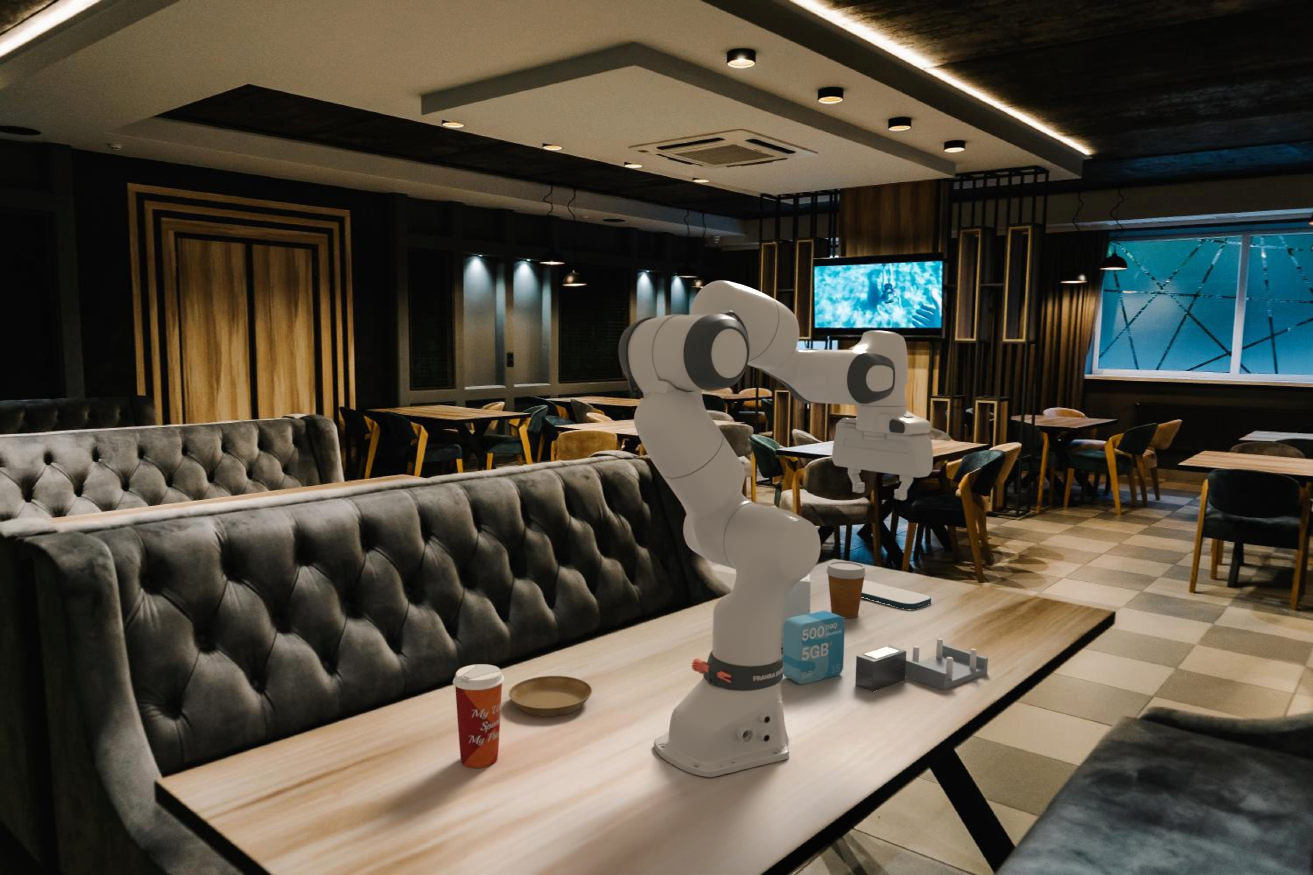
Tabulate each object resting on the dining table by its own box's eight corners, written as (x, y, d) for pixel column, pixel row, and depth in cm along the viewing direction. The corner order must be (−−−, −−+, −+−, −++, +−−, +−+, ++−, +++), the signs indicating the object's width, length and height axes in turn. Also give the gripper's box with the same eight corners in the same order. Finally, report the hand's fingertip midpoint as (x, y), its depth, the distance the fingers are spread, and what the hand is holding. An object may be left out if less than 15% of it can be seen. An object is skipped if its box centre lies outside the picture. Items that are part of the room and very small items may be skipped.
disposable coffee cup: (868, 620, 208) (870, 570, 207) (828, 619, 208) (830, 570, 207) (860, 608, 217) (861, 561, 216) (821, 607, 217) (823, 560, 216)
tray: (944, 690, 166) (945, 663, 165) (899, 674, 174) (900, 648, 173) (987, 673, 175) (988, 647, 174) (943, 658, 182) (944, 634, 182)
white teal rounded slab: (832, 592, 233) (832, 585, 233) (858, 585, 241) (858, 578, 241) (910, 613, 216) (910, 605, 215) (935, 604, 223) (936, 597, 223)
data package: (797, 686, 167) (799, 624, 166) (781, 678, 171) (783, 618, 169) (843, 674, 173) (845, 615, 172) (827, 667, 177) (829, 609, 176)
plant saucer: (545, 729, 147) (545, 714, 147) (491, 704, 157) (491, 690, 157) (609, 704, 158) (609, 690, 157) (554, 682, 168) (554, 669, 167)
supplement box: (809, 636, 196) (811, 570, 194) (809, 650, 187) (811, 581, 185) (768, 633, 197) (770, 568, 196) (766, 647, 188) (767, 578, 187)
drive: (872, 692, 164) (873, 660, 164) (855, 686, 168) (856, 654, 167) (905, 680, 171) (906, 650, 170) (888, 674, 174) (889, 644, 173)
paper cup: (480, 776, 130) (479, 685, 129) (443, 762, 134) (441, 674, 133) (515, 755, 137) (515, 668, 135) (479, 743, 141) (478, 659, 139)
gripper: (825, 417, 166) (824, 489, 168) (917, 426, 150) (914, 505, 152) (847, 416, 170) (845, 486, 172) (939, 423, 154) (936, 501, 156)
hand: (878, 495), depth 162 cm, fingers open, 8 cm apart
